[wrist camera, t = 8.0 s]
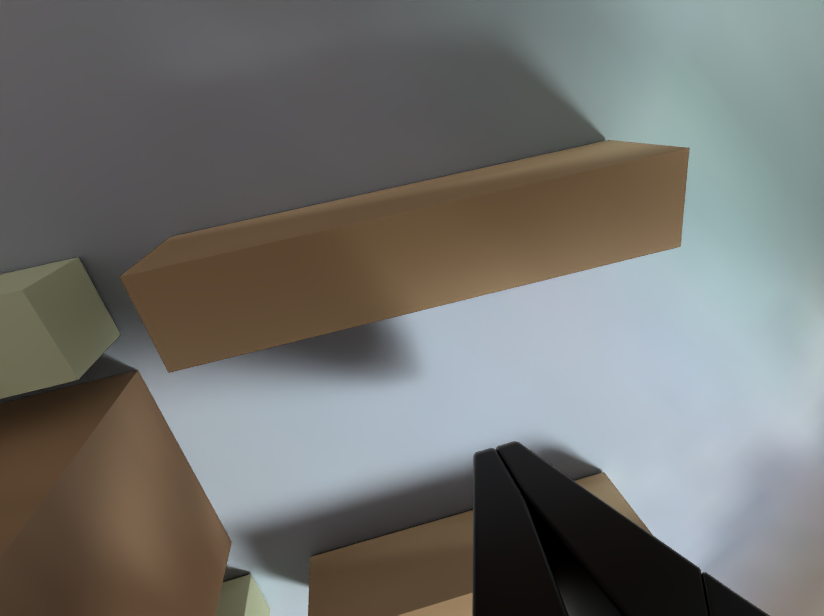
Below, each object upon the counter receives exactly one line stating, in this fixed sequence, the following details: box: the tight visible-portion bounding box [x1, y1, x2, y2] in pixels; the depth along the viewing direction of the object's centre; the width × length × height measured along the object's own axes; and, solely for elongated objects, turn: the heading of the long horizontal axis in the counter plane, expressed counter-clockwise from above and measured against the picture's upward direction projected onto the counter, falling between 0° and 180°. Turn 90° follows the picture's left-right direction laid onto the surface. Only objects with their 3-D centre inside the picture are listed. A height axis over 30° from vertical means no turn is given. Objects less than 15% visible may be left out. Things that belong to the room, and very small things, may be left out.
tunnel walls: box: [120, 140, 689, 616], centre depth 9 cm, size 10×8×2 cm
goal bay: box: [0, 257, 270, 616], centre depth 9 cm, size 10×5×2 cm, turn 10°
